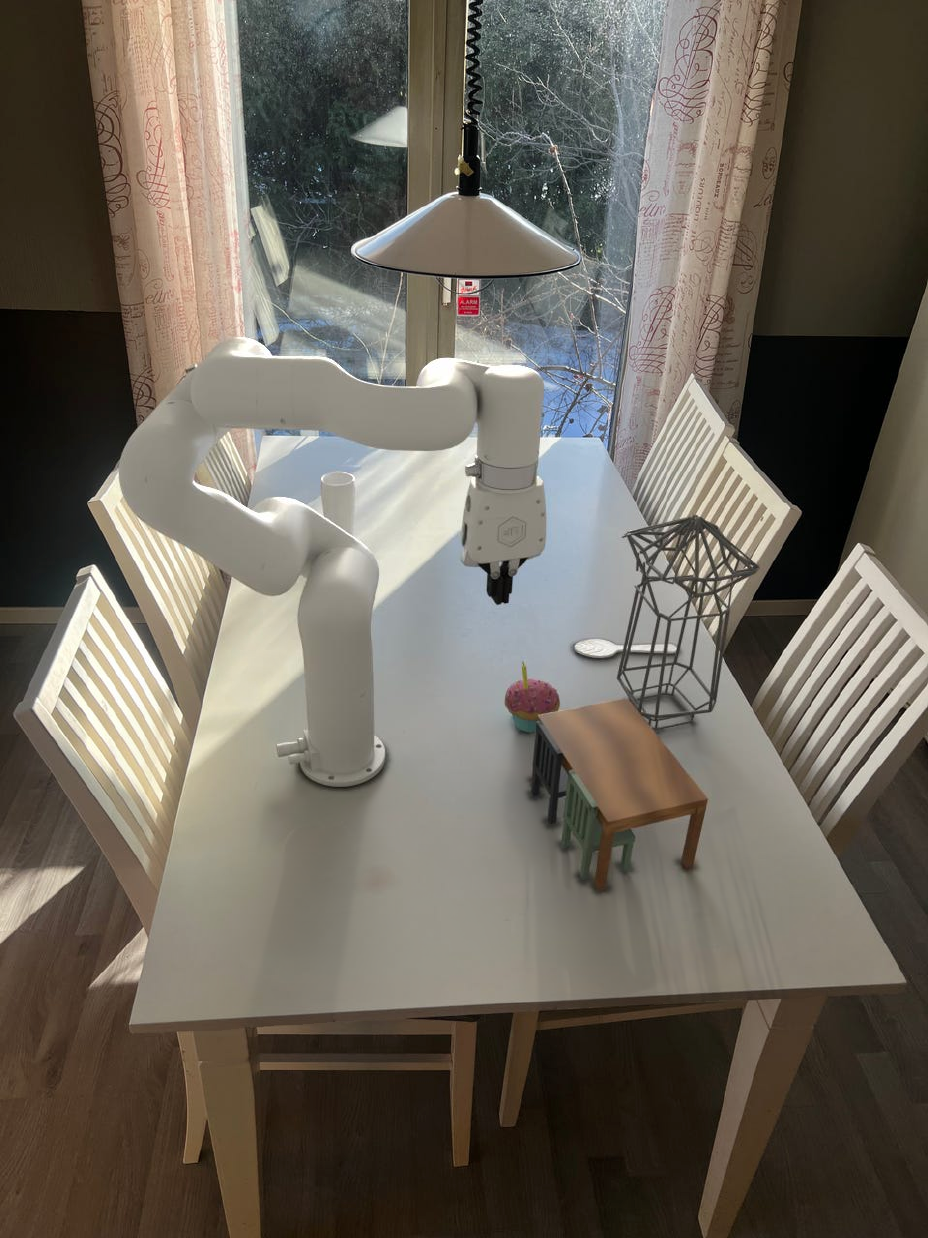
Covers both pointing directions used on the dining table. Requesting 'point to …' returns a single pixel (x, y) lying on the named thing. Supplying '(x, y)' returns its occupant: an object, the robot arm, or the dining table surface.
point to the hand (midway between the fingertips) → (498, 598)
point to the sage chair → (588, 825)
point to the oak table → (625, 774)
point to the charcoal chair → (548, 769)
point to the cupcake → (530, 701)
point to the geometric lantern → (683, 528)
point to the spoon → (615, 648)
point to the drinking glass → (339, 499)
